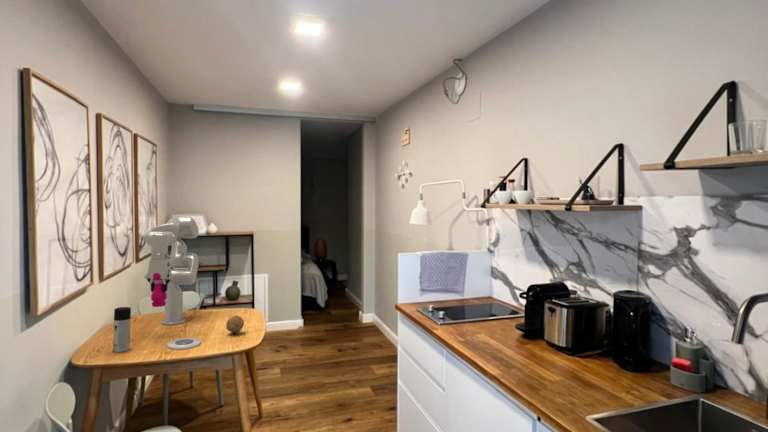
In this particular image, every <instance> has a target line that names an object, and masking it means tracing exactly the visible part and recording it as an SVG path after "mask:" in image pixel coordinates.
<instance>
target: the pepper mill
mask: <svg viewBox="0 0 768 432" xmlns="http://www.w3.org/2000/svg"><path fill="white" fill-rule="evenodd" d="M153 278H154V284H155V286H154V290H153V292H151V296H150V300H151V301H152V302H151V307H152V308H160V307H165V305H166V302H165V300H166V298H167V294H166V292H162V285H163V280H162V279H160V278H161V275H160V274H159V273H154V274H153Z"/></svg>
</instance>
